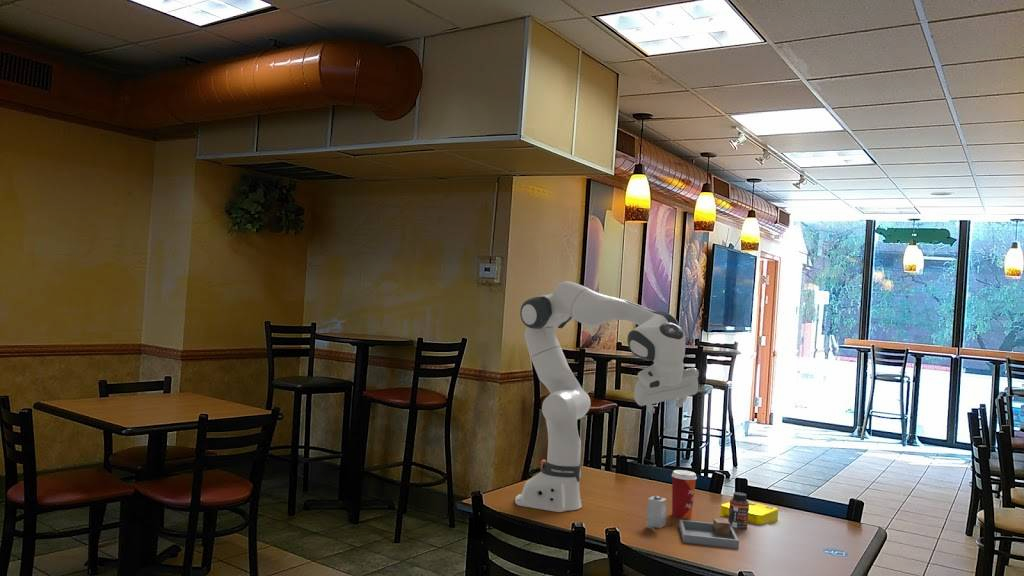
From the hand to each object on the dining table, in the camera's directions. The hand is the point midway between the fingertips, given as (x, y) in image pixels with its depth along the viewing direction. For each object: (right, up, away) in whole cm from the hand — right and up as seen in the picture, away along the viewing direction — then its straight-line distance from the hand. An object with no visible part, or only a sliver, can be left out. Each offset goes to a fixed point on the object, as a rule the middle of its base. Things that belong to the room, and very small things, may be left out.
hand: (665, 409), depth 231 cm
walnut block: (+16, -37, -5) cm, 41 cm away
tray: (+11, -38, -9) cm, 40 cm away
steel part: (-3, -37, 0) cm, 37 cm away
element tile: (+32, -40, +18) cm, 55 cm away
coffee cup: (+8, -38, +13) cm, 41 cm away
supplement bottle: (+24, -39, +4) cm, 46 cm away
